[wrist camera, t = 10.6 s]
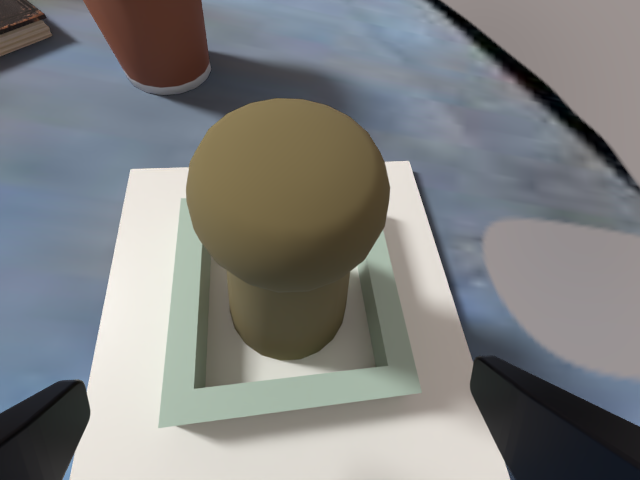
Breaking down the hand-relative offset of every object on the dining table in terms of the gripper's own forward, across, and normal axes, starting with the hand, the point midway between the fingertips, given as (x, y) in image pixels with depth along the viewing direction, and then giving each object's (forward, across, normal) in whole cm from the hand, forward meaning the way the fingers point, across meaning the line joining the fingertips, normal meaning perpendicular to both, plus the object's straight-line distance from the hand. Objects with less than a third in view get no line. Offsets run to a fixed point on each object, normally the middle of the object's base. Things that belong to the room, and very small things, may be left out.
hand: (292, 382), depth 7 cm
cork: (+9, 0, +3) cm, 9 cm away
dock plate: (+10, 0, +3) cm, 10 cm away
